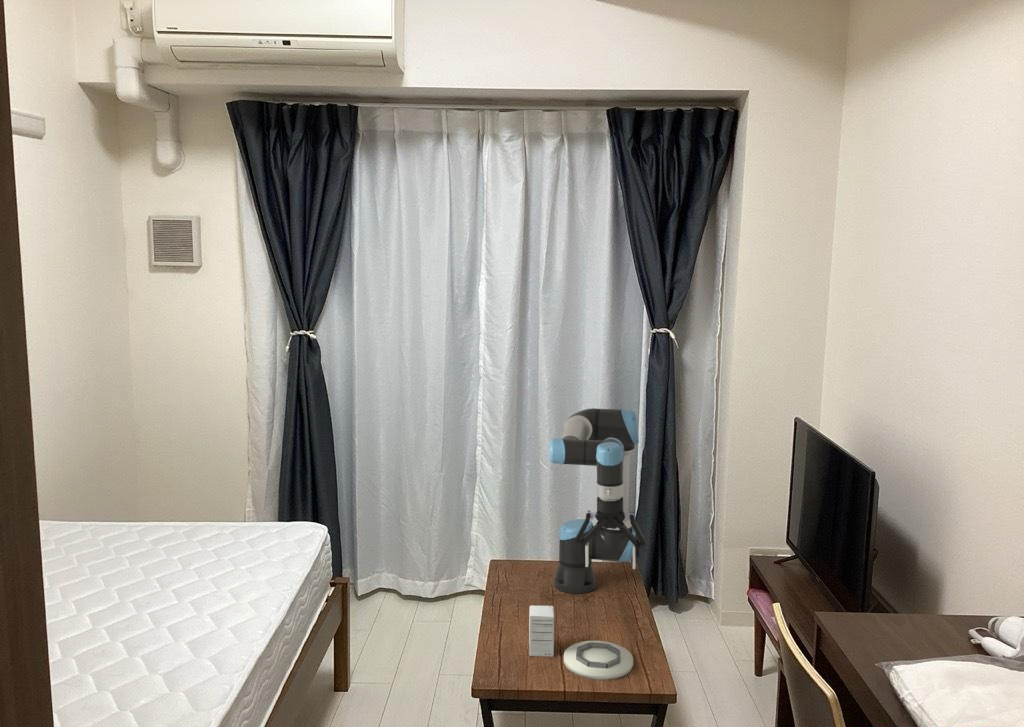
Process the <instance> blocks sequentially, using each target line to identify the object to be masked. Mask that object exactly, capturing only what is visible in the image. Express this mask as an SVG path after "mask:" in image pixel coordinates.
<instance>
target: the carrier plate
mask: <svg viewBox="0 0 1024 727" xmlns="http://www.w3.org/2000/svg"><path fill="white" fill-rule="evenodd" d="M589 642H590V643H591V642H595V643H607V644H610V645H611V646H613V647H615V648H617V649H619V650H620V663H619V664H617V665H614V666H612V667H610V668H594V667H589V666H588V667H587V666H586V665H584V664H582V663H581V662H579V661H577V660H576V652H577V647H579V646H581V645H584V644H587V643H589ZM580 656H582V657H583V658H585V659H587V660H588V661H591V662H603V663H606V662H609V661H611V660H614V659H616V658H617V655H616V654H615V653H613V652H611V651H609V650H608V649H602V648H589V649H587V650H584V651H581V652H580ZM633 657H634V656H633V655H632V653H631V652H630V651H629V649H627V648H625V647H623V646H622V645H619V644H616V643H614V642H609V641H605V640H604V641H603V640H585V641H579V642H575V643H574V644H571V645H570V646H568V647H567V648H566V649H565V650H564V653H563V664H564V666H565V667H566V669H567V670H569V671H570V672H571V673H572V674H575V675H577V676H579V677H582V678H584V679H585V678H586V679H590V680H596V681H597V680H598V681H599V680H600V681H605V680H606V681H608V680H615V679H619V678H622V677H625V676H626V675H628V674H629V673H630V672H631V671H632V670H633V668H632V667H634V658H633ZM631 669H632V670H631Z"/></svg>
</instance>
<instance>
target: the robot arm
mask: <svg viewBox="0 0 1024 727" xmlns="http://www.w3.org/2000/svg"><path fill="white" fill-rule="evenodd" d="M639 436H640V435H639V426H638V418H637V414H636V412H635V411H634V410H630V409H629V410H627V409H623V408H622V409H621V408H594V407H593V408H586V409H583V410H579V411H577V412H575V413H573V414H572V415H570V416H569V417H568V418H567V419H566V421H565V423H564V427H563V434H562V436H561V438H560V437H559V438H552V439H550V442H549V449H548V450H549V451H548V453H549V458H548V459H549V461H550V462H551V463H552V464H559V465H573V466H574V465H577V466H591V467H592V466H593V467H596V496H597V497H596V512H591V510H587V511H586V514H585V518H584V519H583V518H582V519H580V518H579V519H578V518H577V519H571V520H568V521H566V522H564V523H562V524H561V526H560V528H559V535H558V539H559V544H558V545H559V547H558V548H559V550H558V551H559V552H558V566H557V568H556V570H555V571H556V572H555V574H554V577H553V587H554V588H555V589H556V590H558V591H561V592H564V593H568V594H575V593H577V594H578V595H579V594H586V593H590V592H592V591H594V590H595V589H596V588H597V578H596V575H595V572H594V569H593V564H592V563H593V562H592V560H597V561H598V560H599V561H610V562H617V563H619V562H629V561H630V560H631V559H632V570H636V558H639V557H640V547H644V546H646V544H647V542H646V541H647V540H646V538H645V536H644V534H643V532H642V530H641V528H640V526H639V525H638V522H637V520H636V519H635V518H636V517H635V513H634V512H633V511H630V512H629V498H630V497H629V494H630V493H629V492H630V491H629V490H630V489H629V488H630V462H631V460H630V458H631V454H632V452H633V451H634V450H635V448H636V447H635V446H636V445H639V443H640V437H639ZM594 518H595V519H596V520H597V522H596V524H595V525H594V524H593V522H592V520H593V519H594ZM636 536H637V537H636Z"/></svg>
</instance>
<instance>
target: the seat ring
mask: <svg viewBox="0 0 1024 727" xmlns="http://www.w3.org/2000/svg"><path fill="white" fill-rule="evenodd" d="M589 648H602V649H608V650H609V651H611V652H613V653H615V654H616V655H617V658H616V659H614V660H611V661H609V662H606V663H603V662H591V661H588V660H587V659H585V658H583V657H582V656H580V652H581V651H584V650H587V649H589ZM576 660H577V661H579V662H581V663H582V664H584V665H586V666H587V667H588V666H589V667H594V668H610V667H612V666H614V665H617V664H619V663H620V650H619V649H617V648H615V647H613V646H611V645H610V644H607V643H595V642H591V643H590V642H589V643H587V644H584V645H581V646H579V647H577V652H576Z"/></svg>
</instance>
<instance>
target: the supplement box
mask: <svg viewBox="0 0 1024 727" xmlns="http://www.w3.org/2000/svg"><path fill="white" fill-rule="evenodd" d="M528 613H529V614H528V617H529V618H528V619H529V620H528V624H529V625H528V632H529V633H528V645H529V646H528V648H529V649H528V650H529V657H547V658H548V657H555V656H554V655H555V653H554V652H555V646H554V645H555V609H554V605H529V611H528Z"/></svg>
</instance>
